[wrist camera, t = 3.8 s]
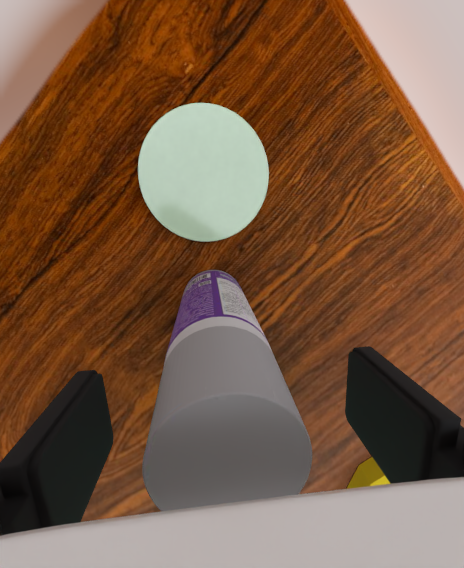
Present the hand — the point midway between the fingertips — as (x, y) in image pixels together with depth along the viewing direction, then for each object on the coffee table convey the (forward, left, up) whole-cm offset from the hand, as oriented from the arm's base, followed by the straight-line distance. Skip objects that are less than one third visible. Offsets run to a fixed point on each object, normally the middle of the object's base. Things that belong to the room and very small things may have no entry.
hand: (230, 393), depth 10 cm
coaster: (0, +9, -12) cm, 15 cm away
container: (0, 0, -12) cm, 12 cm away
